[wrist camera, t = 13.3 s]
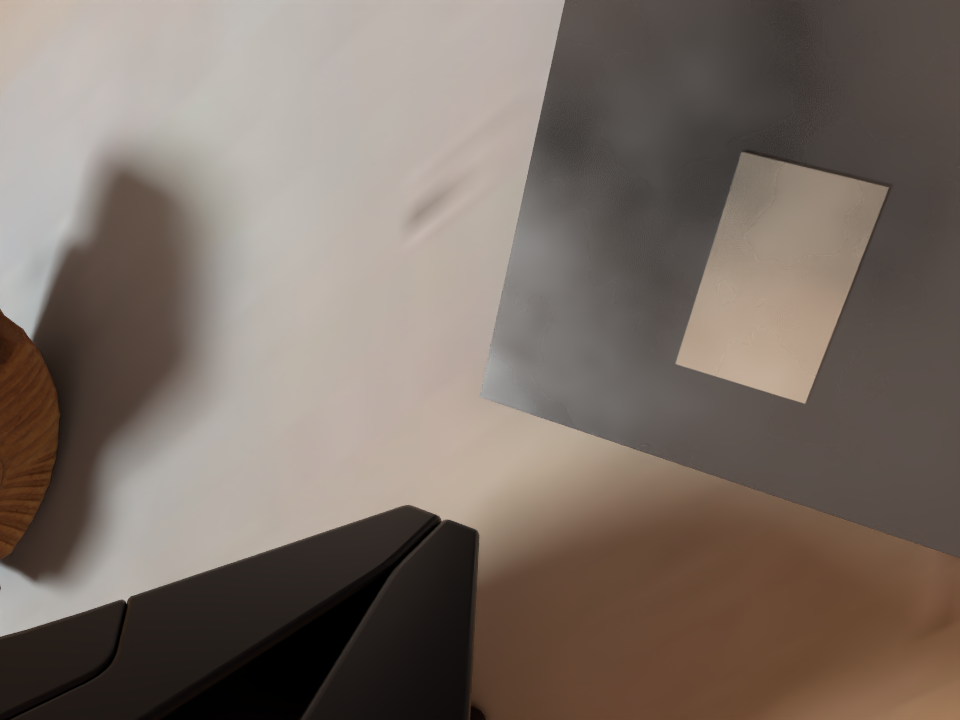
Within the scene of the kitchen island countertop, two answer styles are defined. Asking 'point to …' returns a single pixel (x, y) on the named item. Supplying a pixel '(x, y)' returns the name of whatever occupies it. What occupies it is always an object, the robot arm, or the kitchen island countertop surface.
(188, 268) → the kitchen island countertop surface
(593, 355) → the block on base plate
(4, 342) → the wooden carving
